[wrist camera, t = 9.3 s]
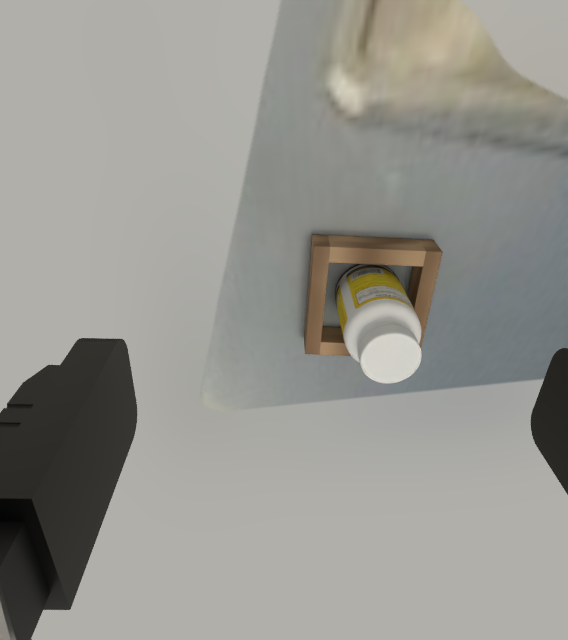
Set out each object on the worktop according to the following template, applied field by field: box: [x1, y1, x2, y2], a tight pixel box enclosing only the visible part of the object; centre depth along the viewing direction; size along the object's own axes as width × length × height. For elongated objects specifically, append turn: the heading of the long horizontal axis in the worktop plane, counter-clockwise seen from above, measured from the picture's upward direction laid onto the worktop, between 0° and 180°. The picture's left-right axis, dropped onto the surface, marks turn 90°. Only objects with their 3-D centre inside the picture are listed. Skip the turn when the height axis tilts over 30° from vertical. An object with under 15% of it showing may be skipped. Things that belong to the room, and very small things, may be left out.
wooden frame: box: [304, 234, 442, 356], centre depth 38 cm, size 9×9×2 cm
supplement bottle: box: [335, 264, 422, 383], centre depth 35 cm, size 5×5×10 cm
